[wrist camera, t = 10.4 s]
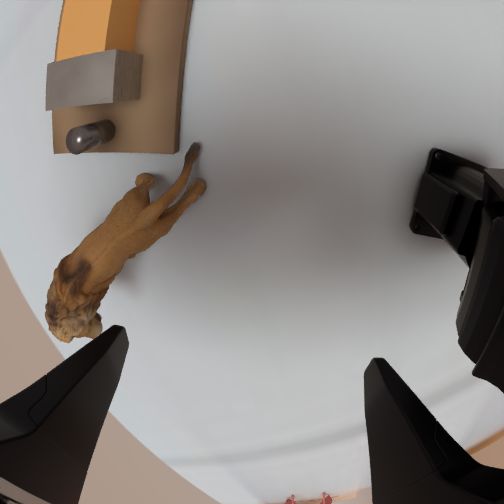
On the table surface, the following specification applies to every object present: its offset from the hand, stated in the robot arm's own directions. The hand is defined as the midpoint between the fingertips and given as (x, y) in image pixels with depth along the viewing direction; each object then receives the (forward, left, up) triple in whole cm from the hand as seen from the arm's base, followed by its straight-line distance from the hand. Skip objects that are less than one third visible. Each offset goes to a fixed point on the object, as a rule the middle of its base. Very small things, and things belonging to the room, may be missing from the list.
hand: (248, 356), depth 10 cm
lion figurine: (+9, +2, -12) cm, 15 cm away
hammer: (+11, -15, -11) cm, 22 cm away
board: (+11, -15, -12) cm, 22 cm away
